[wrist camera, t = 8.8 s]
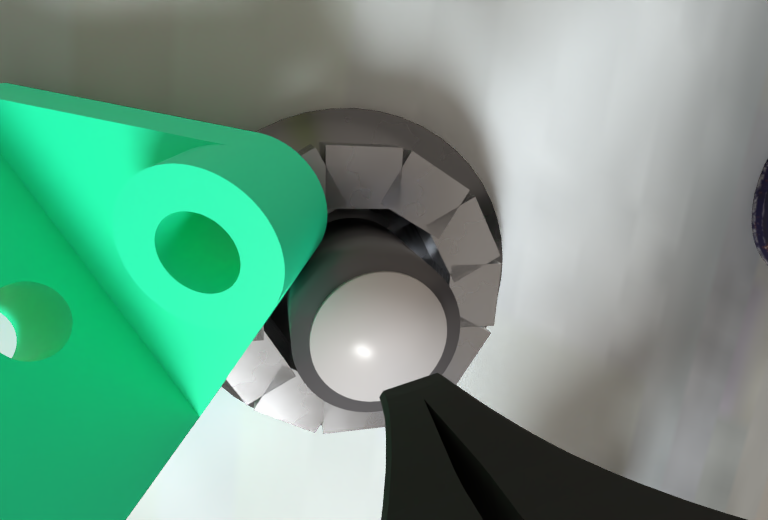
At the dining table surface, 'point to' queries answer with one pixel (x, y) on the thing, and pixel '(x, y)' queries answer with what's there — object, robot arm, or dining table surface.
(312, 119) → the grey knurled ring
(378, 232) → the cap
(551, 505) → the robot arm
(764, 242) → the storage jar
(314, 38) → the dining table surface
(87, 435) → the camera mount
